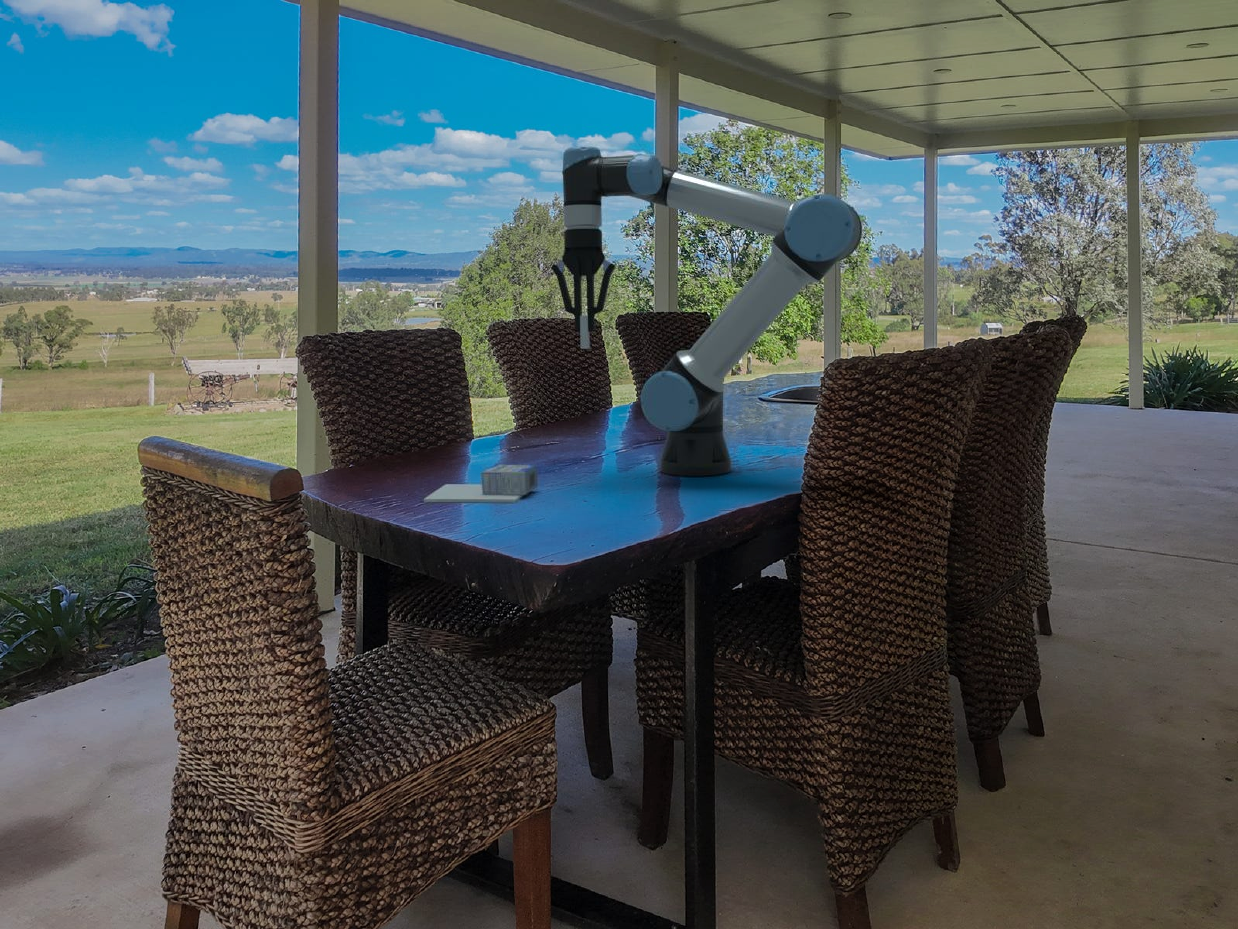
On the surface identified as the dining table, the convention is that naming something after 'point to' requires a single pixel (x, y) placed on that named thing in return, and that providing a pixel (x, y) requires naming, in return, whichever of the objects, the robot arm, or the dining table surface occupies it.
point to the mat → (468, 495)
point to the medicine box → (509, 479)
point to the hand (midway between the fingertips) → (585, 348)
